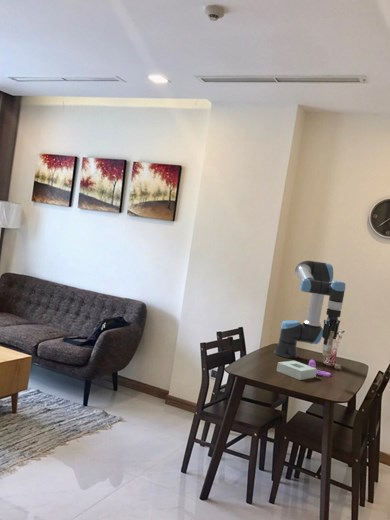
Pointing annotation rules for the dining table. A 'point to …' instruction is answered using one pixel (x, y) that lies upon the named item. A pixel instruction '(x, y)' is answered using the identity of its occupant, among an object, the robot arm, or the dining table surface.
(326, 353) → the peg
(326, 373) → the bracket
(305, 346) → the dining table surface
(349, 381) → the dining table surface
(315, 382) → the dining table surface
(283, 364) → the socket block
